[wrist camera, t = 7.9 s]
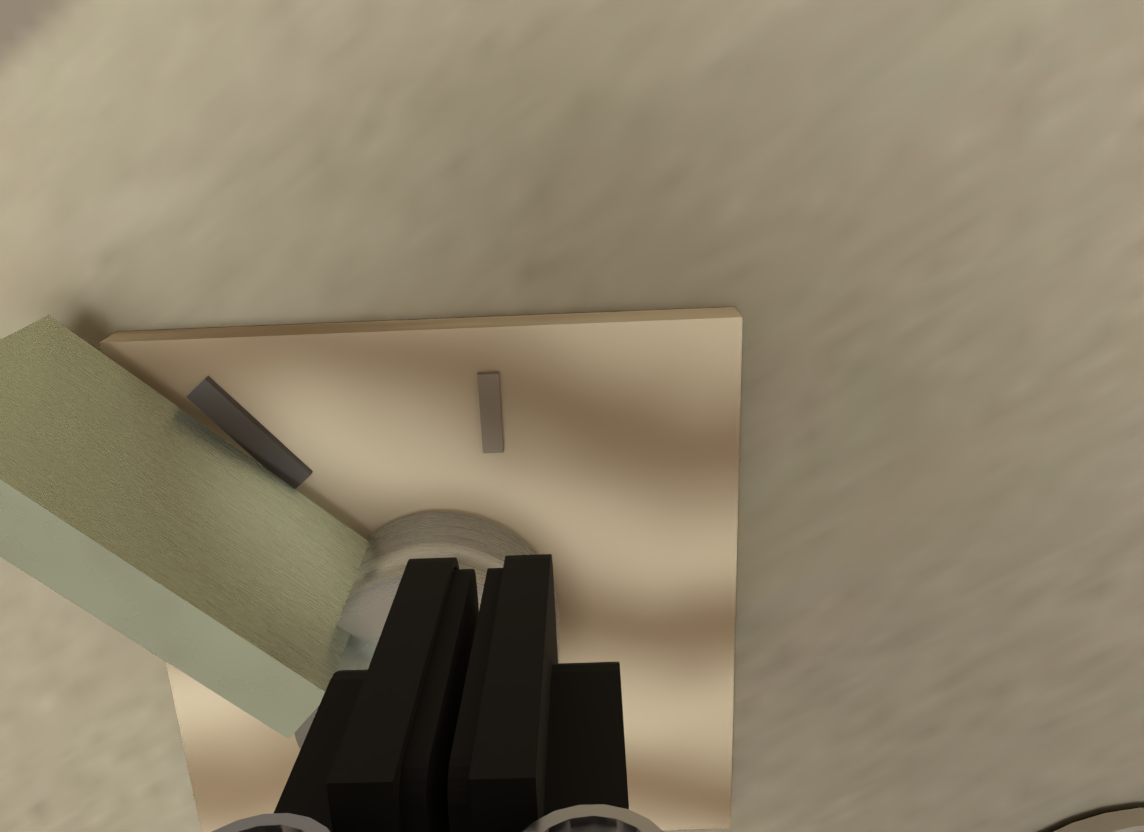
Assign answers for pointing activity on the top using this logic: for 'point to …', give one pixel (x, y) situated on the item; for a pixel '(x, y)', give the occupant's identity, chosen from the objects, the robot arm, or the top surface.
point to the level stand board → (504, 500)
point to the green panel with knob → (197, 534)
